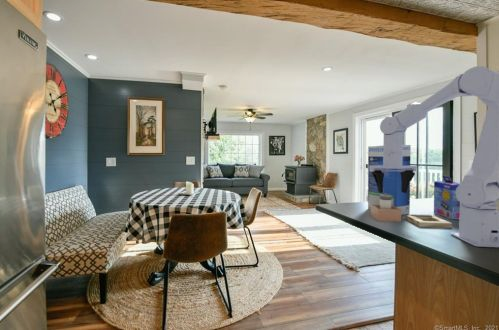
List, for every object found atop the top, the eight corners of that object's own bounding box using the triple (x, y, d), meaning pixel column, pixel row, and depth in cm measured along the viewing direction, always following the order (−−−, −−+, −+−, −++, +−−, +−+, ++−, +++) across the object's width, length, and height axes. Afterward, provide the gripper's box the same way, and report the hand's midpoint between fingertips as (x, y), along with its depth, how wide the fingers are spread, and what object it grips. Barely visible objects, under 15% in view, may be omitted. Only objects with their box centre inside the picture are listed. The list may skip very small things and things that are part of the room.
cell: (393, 218, 85) (393, 195, 85) (381, 217, 86) (382, 194, 85) (388, 215, 89) (389, 193, 89) (377, 215, 89) (378, 193, 89)
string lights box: (410, 214, 93) (412, 144, 92) (396, 216, 90) (397, 144, 89) (379, 207, 105) (381, 145, 104) (366, 208, 102) (367, 145, 101)
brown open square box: (400, 221, 83) (401, 209, 83) (378, 220, 84) (378, 209, 84) (391, 216, 91) (391, 205, 90) (370, 215, 91) (370, 204, 91)
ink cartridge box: (432, 212, 95) (433, 174, 95) (447, 212, 95) (449, 174, 94) (450, 219, 86) (451, 177, 85) (467, 219, 85) (469, 177, 84)
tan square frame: (451, 228, 76) (452, 221, 76) (419, 227, 77) (420, 221, 77) (434, 220, 85) (434, 214, 85) (405, 219, 86) (405, 213, 86)
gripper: (409, 152, 88) (408, 190, 89) (366, 153, 90) (366, 190, 91) (420, 152, 81) (419, 194, 82) (373, 153, 83) (373, 193, 84)
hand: (392, 192), depth 86 cm, fingers open, 7 cm apart
